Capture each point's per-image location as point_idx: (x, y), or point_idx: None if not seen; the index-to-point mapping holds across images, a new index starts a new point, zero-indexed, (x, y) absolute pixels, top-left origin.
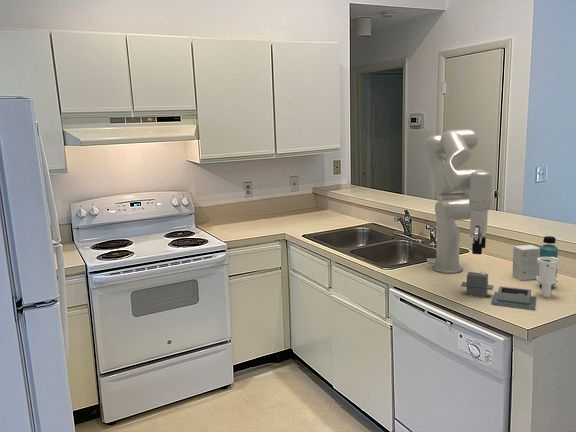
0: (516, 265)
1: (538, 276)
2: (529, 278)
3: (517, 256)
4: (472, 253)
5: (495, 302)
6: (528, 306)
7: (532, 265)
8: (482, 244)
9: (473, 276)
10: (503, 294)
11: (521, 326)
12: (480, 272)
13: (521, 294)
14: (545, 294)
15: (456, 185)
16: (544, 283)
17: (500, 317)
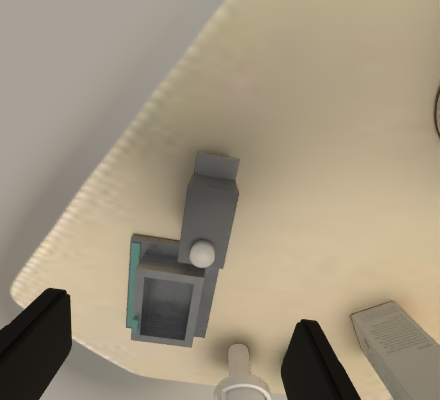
0: (404, 343)
1: (258, 389)
2: (358, 337)
3: (432, 381)
4: (48, 288)
5: (130, 248)
6: (128, 316)
7: (387, 383)
8: (294, 391)
9: (185, 211)
10: (135, 281)
11: (12, 287)
12: (201, 245)
13: (132, 326)
14: (228, 354)
15: None
16: (216, 388)
17: (47, 249)
